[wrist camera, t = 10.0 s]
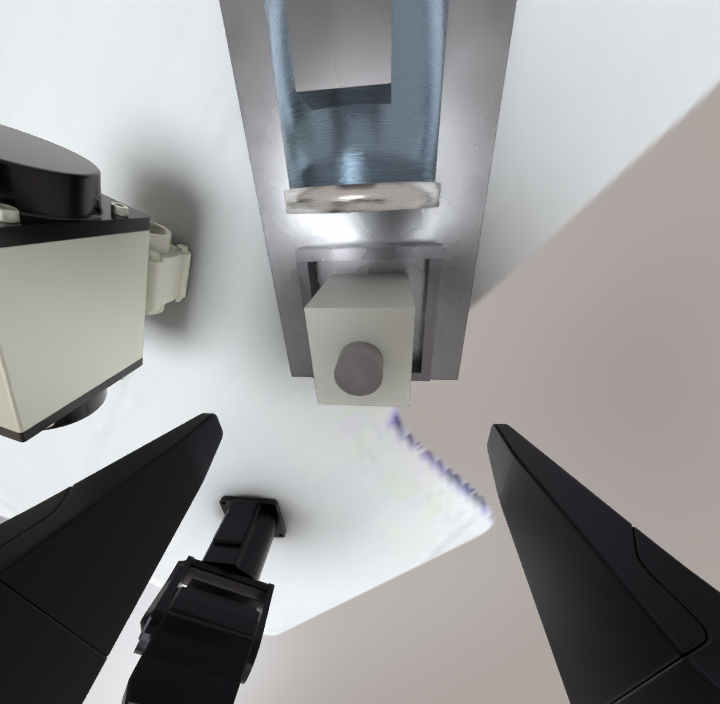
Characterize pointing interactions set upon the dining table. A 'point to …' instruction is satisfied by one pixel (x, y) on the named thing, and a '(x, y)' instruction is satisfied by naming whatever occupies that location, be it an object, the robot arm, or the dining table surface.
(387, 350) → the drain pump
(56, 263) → the pneumatic valve
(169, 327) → the dining table surface
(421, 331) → the motor mount
